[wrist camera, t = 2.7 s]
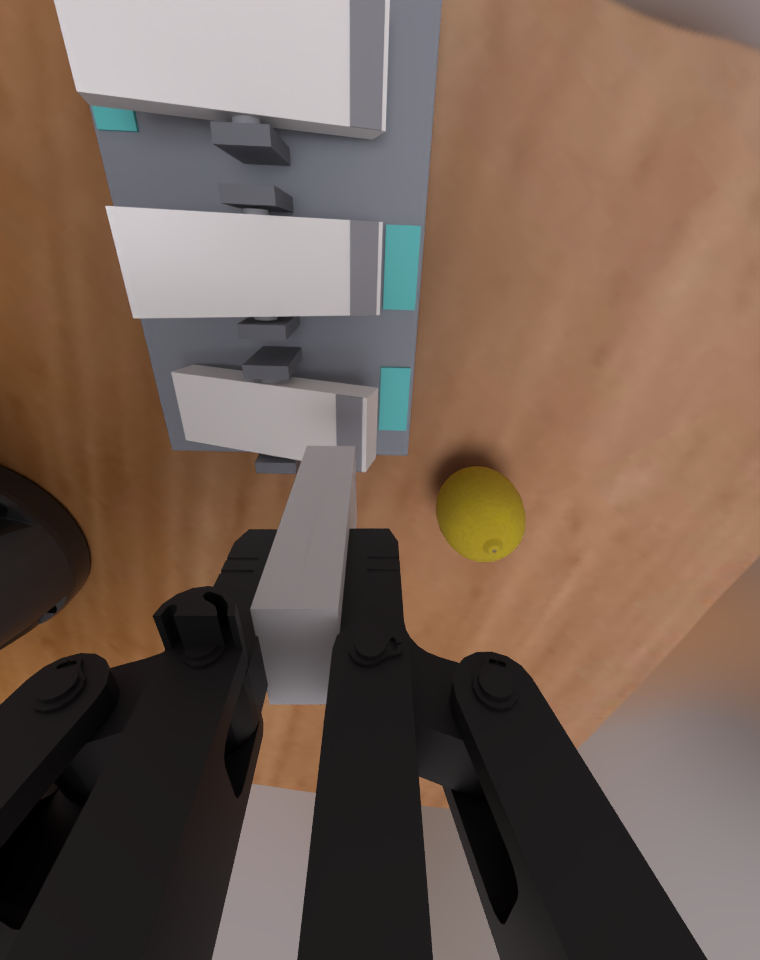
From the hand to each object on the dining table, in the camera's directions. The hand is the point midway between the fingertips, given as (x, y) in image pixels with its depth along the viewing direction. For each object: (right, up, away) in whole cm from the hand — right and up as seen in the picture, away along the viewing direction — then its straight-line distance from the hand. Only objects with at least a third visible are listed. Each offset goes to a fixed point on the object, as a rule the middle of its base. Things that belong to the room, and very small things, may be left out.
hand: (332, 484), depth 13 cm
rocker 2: (-3, +9, +4) cm, 10 cm away
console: (-4, +12, +10) cm, 16 cm away
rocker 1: (-3, +15, 0) cm, 15 cm away
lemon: (+8, 0, +17) cm, 19 cm away
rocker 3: (-4, +3, +7) cm, 9 cm away
